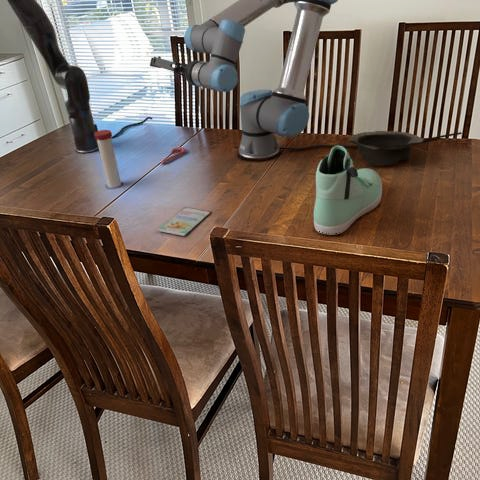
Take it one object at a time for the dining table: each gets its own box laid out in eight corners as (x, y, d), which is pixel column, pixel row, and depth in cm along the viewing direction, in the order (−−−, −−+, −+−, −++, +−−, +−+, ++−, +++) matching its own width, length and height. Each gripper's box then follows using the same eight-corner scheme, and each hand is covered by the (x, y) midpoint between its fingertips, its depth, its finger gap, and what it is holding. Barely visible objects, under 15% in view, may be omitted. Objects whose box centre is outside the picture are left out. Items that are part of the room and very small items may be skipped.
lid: (93, 140, 154) (92, 136, 153) (96, 135, 158) (95, 130, 157) (110, 139, 154) (109, 134, 153) (113, 133, 158) (112, 129, 158)
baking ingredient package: (157, 229, 135) (185, 206, 146) (157, 231, 135) (185, 208, 146) (183, 235, 131) (210, 211, 142) (183, 236, 131) (210, 212, 143)
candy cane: (151, 162, 180) (151, 158, 180) (178, 149, 190) (177, 145, 190) (163, 165, 177) (162, 161, 176) (189, 151, 187) (189, 147, 187)
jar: (106, 188, 163) (94, 136, 153) (108, 183, 167) (96, 132, 157) (120, 187, 163) (109, 135, 154) (122, 181, 167) (111, 130, 158)
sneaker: (389, 187, 148) (396, 123, 138) (356, 242, 123) (361, 168, 112) (346, 181, 154) (350, 119, 144) (306, 232, 129) (307, 161, 118)
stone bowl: (381, 177, 154) (382, 149, 150) (333, 159, 175) (333, 134, 170) (437, 158, 163) (440, 131, 159) (386, 143, 183) (387, 119, 179)
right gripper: (162, 74, 140) (133, 68, 156) (229, 97, 156) (196, 89, 172) (169, 48, 138) (138, 44, 154) (236, 74, 154) (202, 68, 170)
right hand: (169, 68), depth 163 cm, fingers open, 13 cm apart
